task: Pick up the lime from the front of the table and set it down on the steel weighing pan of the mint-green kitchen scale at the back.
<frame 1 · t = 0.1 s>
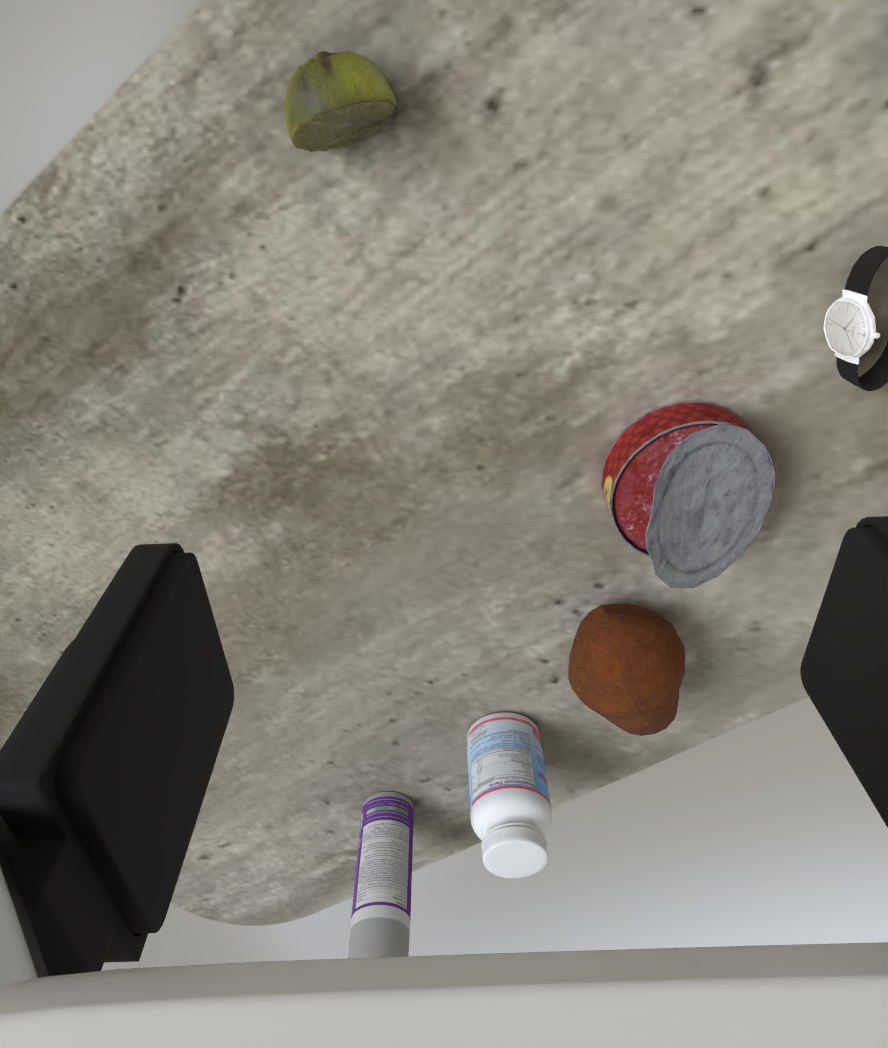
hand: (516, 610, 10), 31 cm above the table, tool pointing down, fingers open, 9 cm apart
lime: (343, 106, 34), on the table
potato: (615, 632, 52), on the table
watch: (862, 311, 39), on the table
container: (388, 805, 64), on the table
canned food: (677, 469, 45), on the table
pill bottle: (502, 731, 58), on the table
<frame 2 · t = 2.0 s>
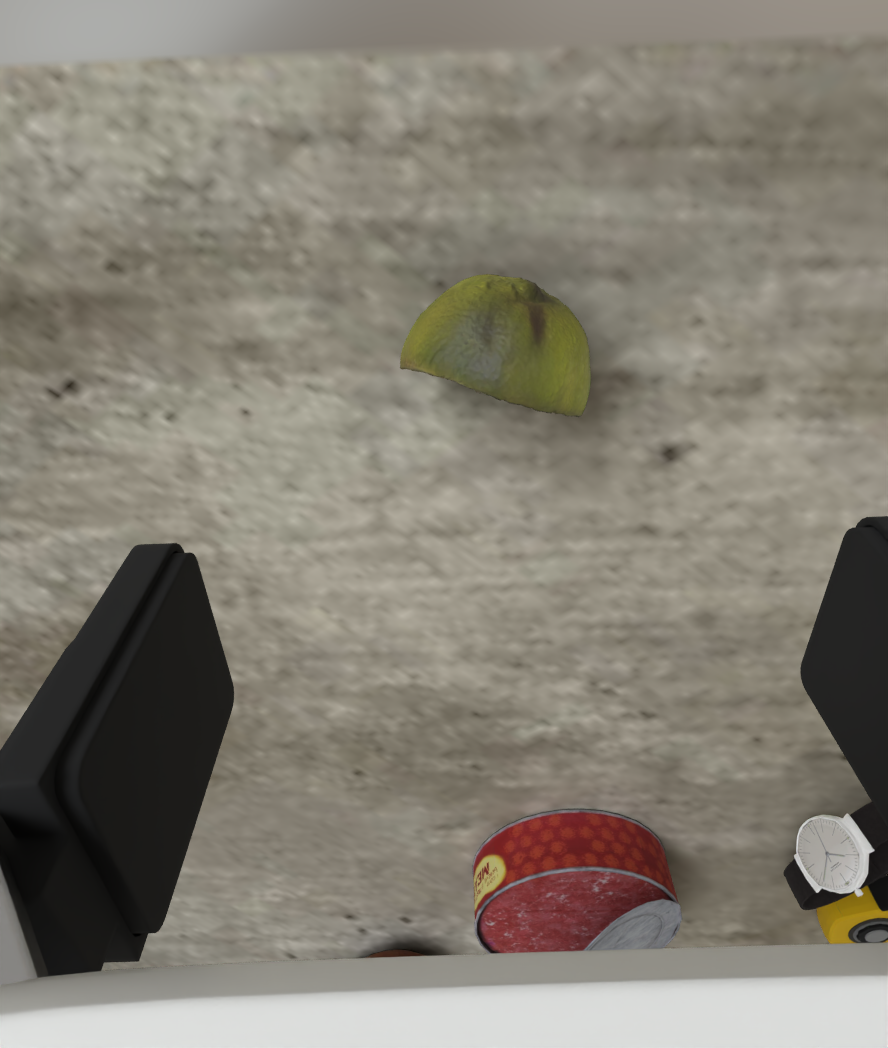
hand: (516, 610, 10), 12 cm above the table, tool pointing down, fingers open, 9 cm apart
lime: (490, 330, 20), on the table
watch: (839, 822, 34), on the table
canned food: (568, 862, 36), on the table
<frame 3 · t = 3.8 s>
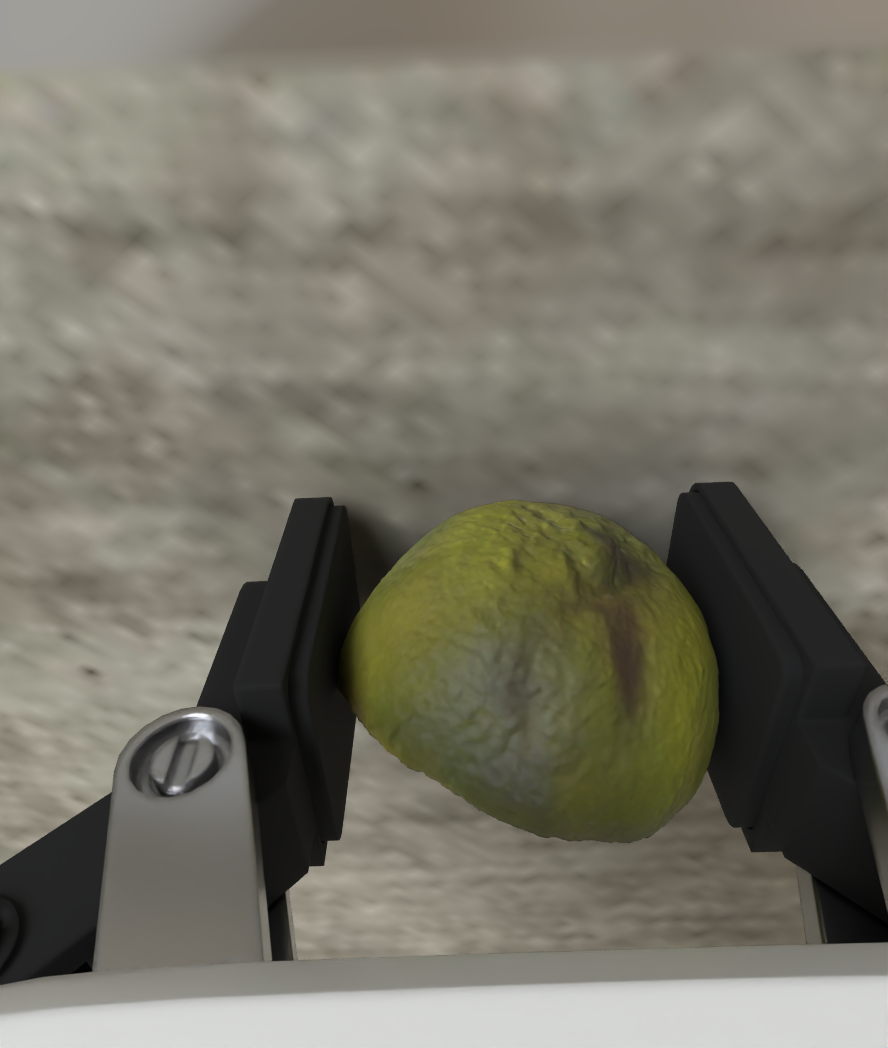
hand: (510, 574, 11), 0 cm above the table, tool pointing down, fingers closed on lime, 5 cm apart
lime: (508, 551, 12), on the table, touching gripper
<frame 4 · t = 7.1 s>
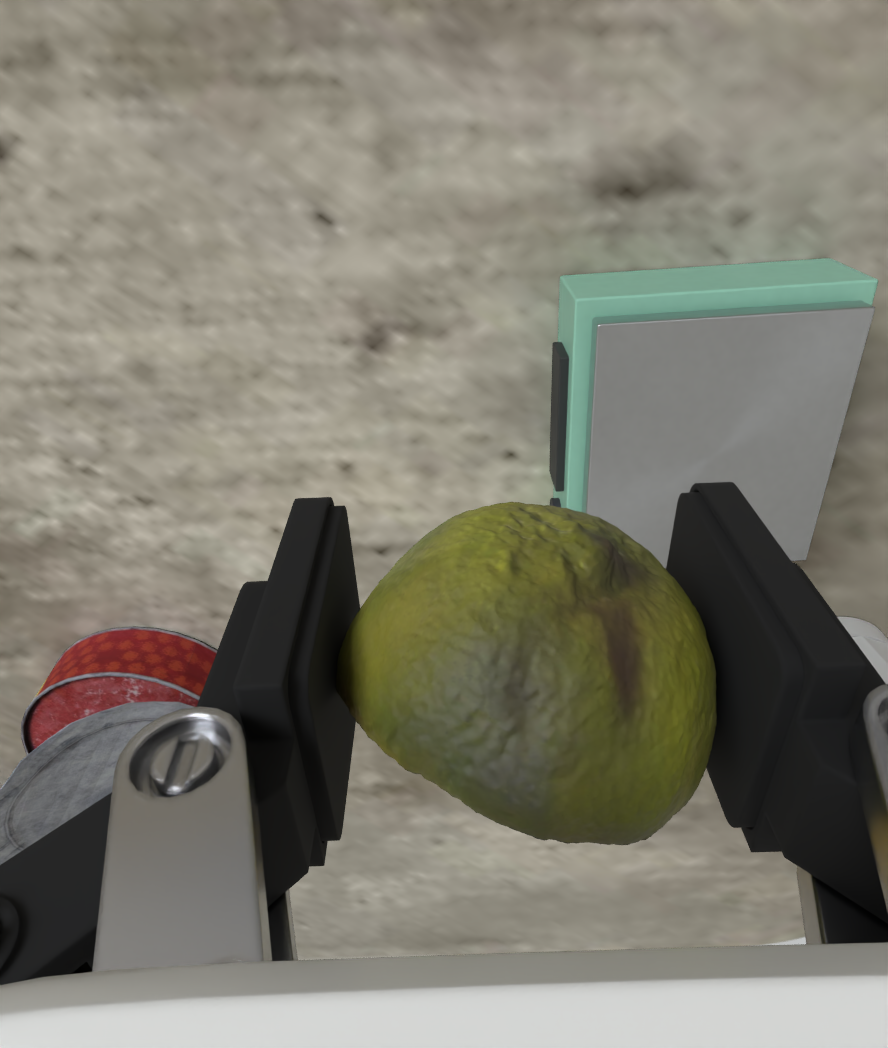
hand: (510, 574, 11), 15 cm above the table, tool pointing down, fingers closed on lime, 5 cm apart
scale: (676, 406, 26), on the table
lime: (506, 552, 12), point 15 cm above the table, touching gripper
cup: (817, 664, 33), on the table
canned food: (159, 699, 34), on the table
scale pan: (708, 449, 23), point 4 cm above the table, slide at 0.0 cm
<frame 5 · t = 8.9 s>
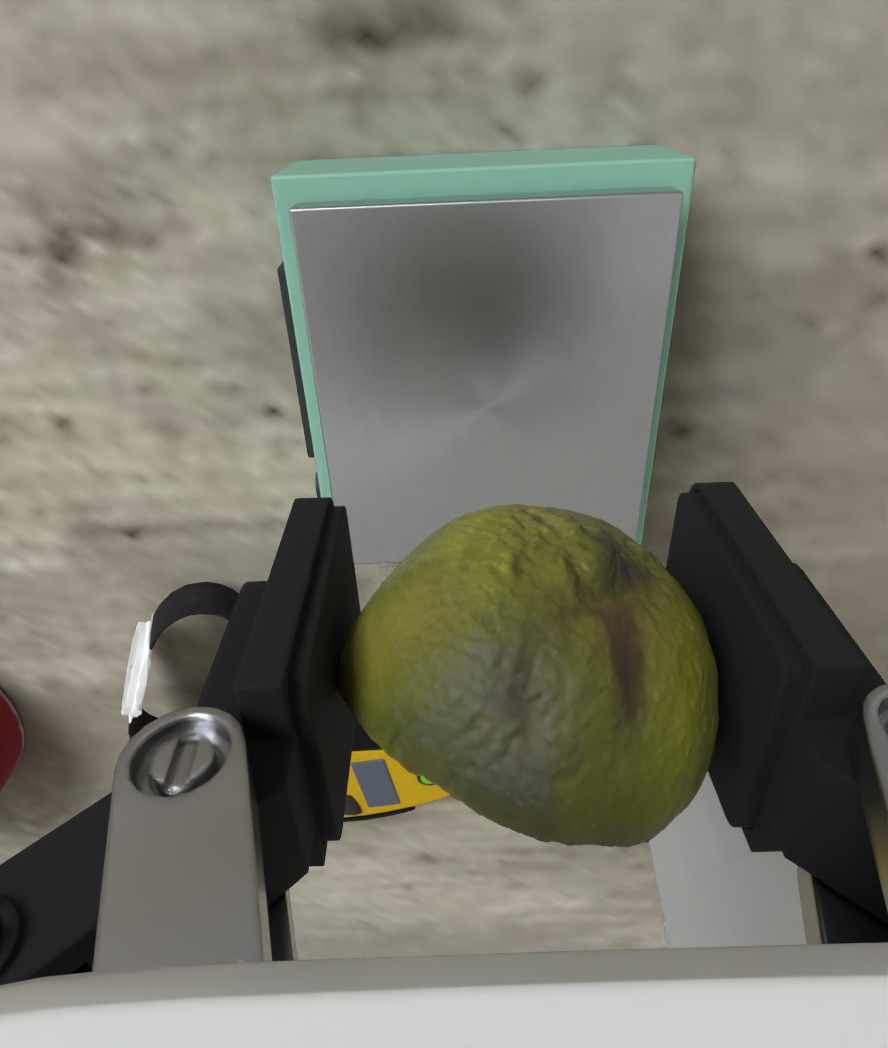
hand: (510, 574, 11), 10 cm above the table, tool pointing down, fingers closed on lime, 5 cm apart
scale: (478, 350, 20), on the table
yellow walkie talkie: (423, 741, 29), on the table
lime: (508, 554, 12), point 10 cm above the table, touching gripper
cup: (696, 682, 27), on the table
watch: (203, 643, 26), on the table
scale pan: (485, 400, 17), point 4 cm above the table, slide at 0.0 cm
when the fingers open (4 cm above the table, at t = 10.7 s): lime stays where it is, resting on scale pan.
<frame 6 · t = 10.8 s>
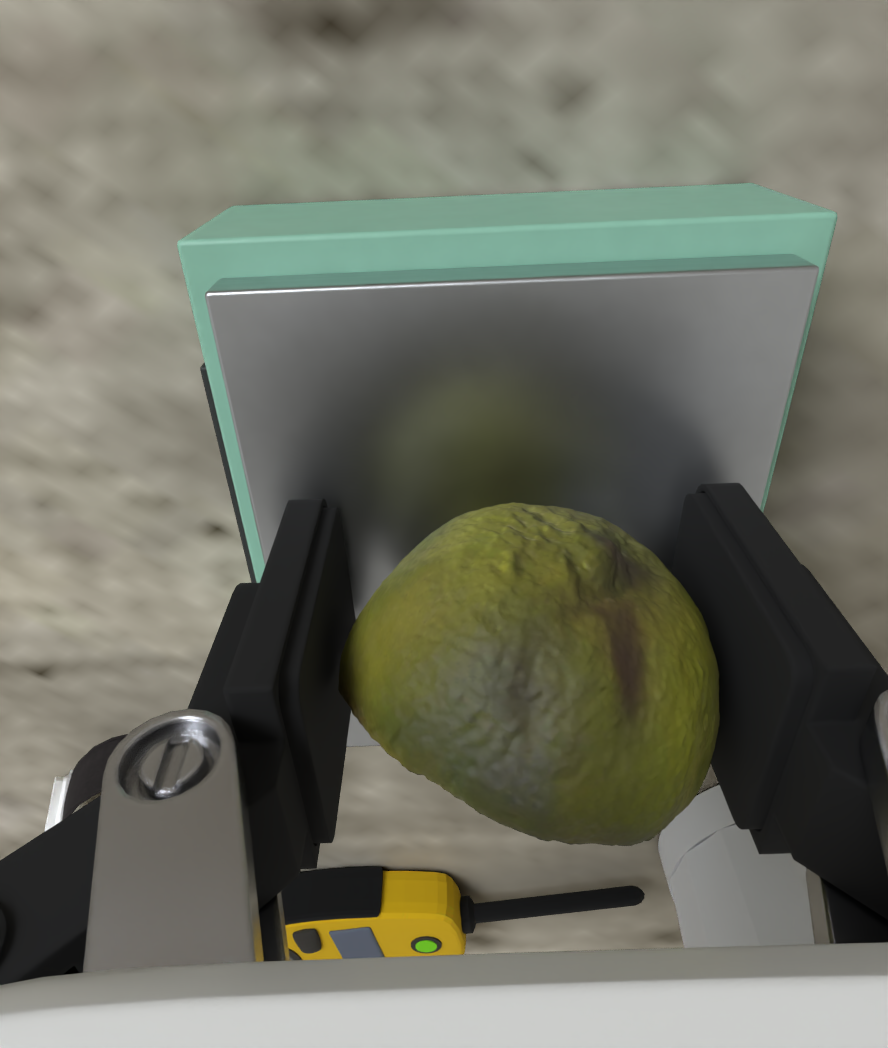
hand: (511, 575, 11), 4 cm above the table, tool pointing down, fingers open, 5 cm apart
scale: (491, 454, 15), on the table
yellow walkie talkie: (419, 890, 24), on the table
lime: (508, 553, 12), point 4 cm above the table, touching scale pan
cup: (755, 829, 22), on the table
watch: (143, 790, 21), on the table
scale pan: (504, 547, 12), point 3 cm above the table, slide at -0.2 cm, touching lime, scale
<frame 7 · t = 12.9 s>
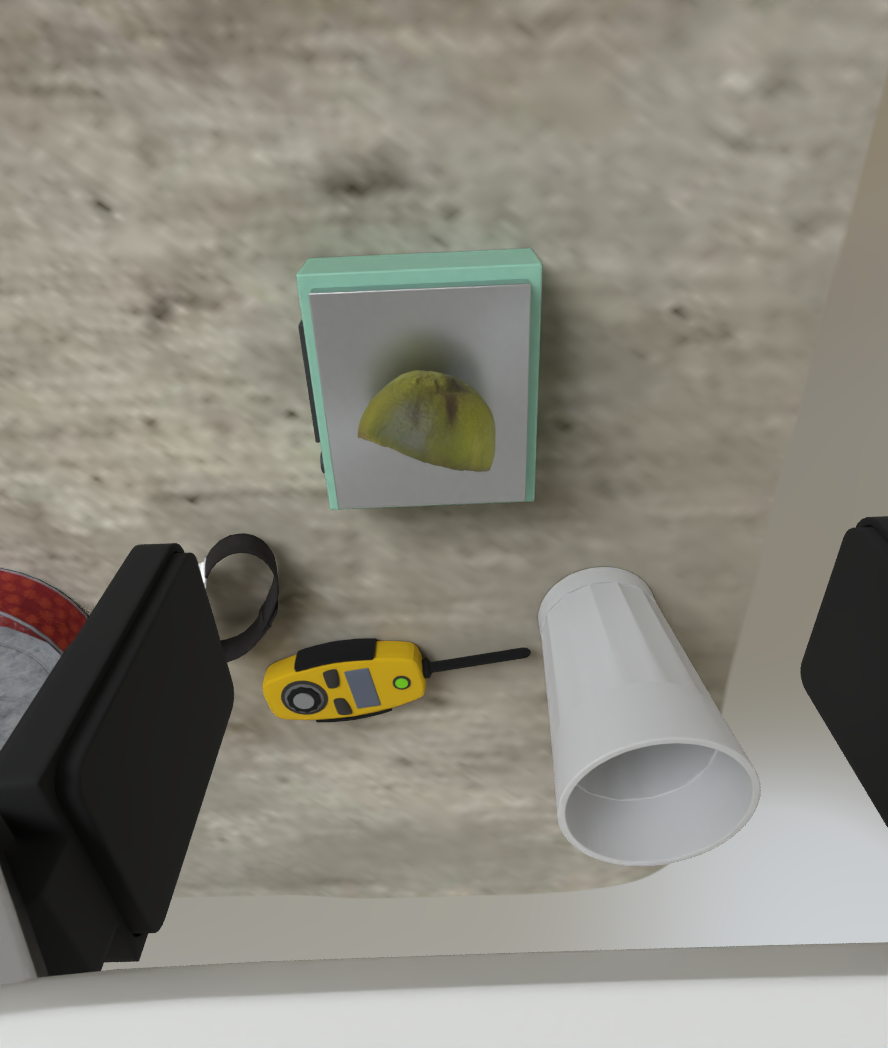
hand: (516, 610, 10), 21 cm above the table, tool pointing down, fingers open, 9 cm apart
scale: (426, 373, 30), on the table
yellow walkie talkie: (398, 660, 39), on the table
lime: (427, 404, 27), point 4 cm above the table, touching scale pan
cup: (595, 612, 38), on the table
watch: (237, 582, 36), on the table
canned food: (12, 636, 38), on the table
scale pan: (426, 402, 27), point 3 cm above the table, slide at -0.2 cm, touching lime, scale
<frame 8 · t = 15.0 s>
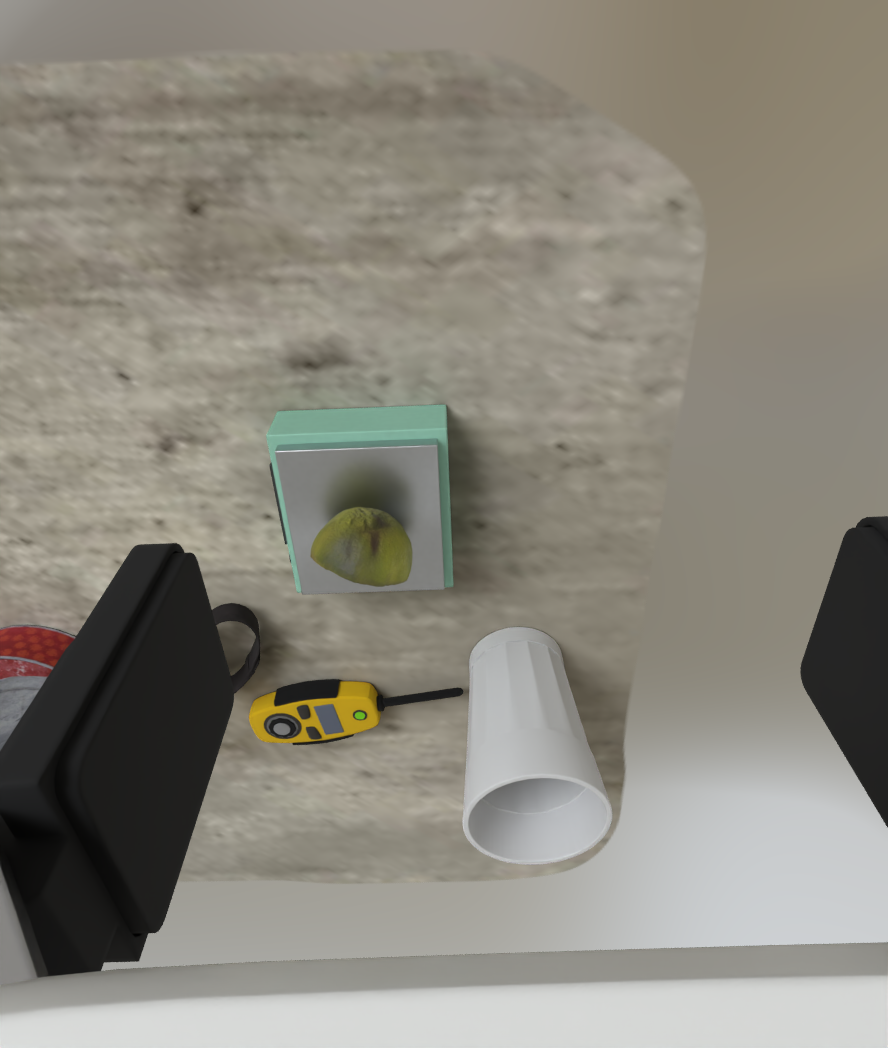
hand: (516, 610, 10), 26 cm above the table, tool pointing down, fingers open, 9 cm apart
scale: (370, 488, 39), on the table
yellow walkie talkie: (358, 695, 49), on the table
lime: (366, 522, 36), point 4 cm above the table, touching scale pan
cup: (515, 660, 47), on the table
watch: (228, 637, 46), on the table
canned food: (49, 676, 48), on the table
scale pan: (365, 521, 37), point 3 cm above the table, slide at -0.2 cm, touching lime, scale
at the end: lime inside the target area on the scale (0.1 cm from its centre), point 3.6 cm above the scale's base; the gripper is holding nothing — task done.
